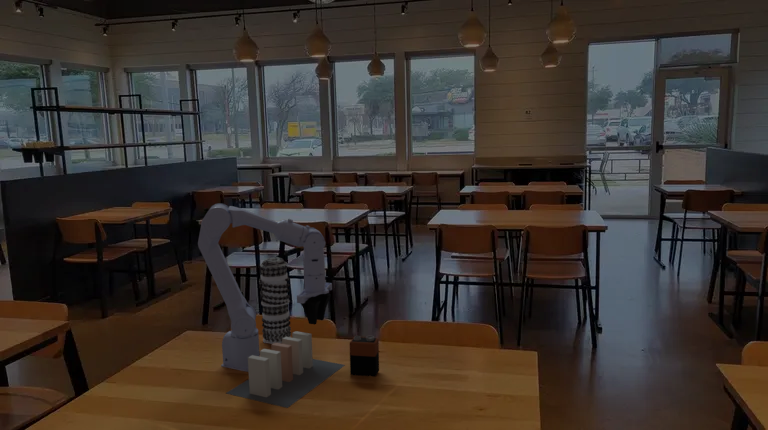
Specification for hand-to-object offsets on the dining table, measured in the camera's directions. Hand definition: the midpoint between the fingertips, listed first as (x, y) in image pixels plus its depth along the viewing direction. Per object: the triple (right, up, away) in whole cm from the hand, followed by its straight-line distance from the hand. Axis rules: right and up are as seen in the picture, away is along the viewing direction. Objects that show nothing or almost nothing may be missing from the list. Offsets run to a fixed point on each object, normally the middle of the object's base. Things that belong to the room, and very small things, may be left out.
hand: (316, 321), depth 155 cm
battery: (+14, -12, -10) cm, 20 cm away
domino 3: (-7, -12, -13) cm, 19 cm away
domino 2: (-9, -13, -17) cm, 23 cm away
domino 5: (-3, -11, -5) cm, 12 cm away
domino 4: (-5, -11, -9) cm, 15 cm away
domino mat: (-6, -12, -12) cm, 18 cm away
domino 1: (-11, -13, -21) cm, 27 cm away
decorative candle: (-14, -9, +16) cm, 23 cm away
